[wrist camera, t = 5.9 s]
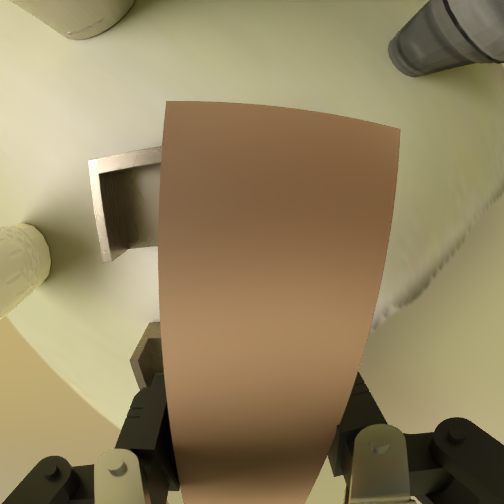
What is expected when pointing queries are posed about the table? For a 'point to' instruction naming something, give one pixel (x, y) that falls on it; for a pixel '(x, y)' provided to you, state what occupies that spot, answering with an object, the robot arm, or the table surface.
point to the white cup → (21, 264)
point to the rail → (266, 288)
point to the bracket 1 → (126, 200)
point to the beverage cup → (450, 36)
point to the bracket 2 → (148, 356)
